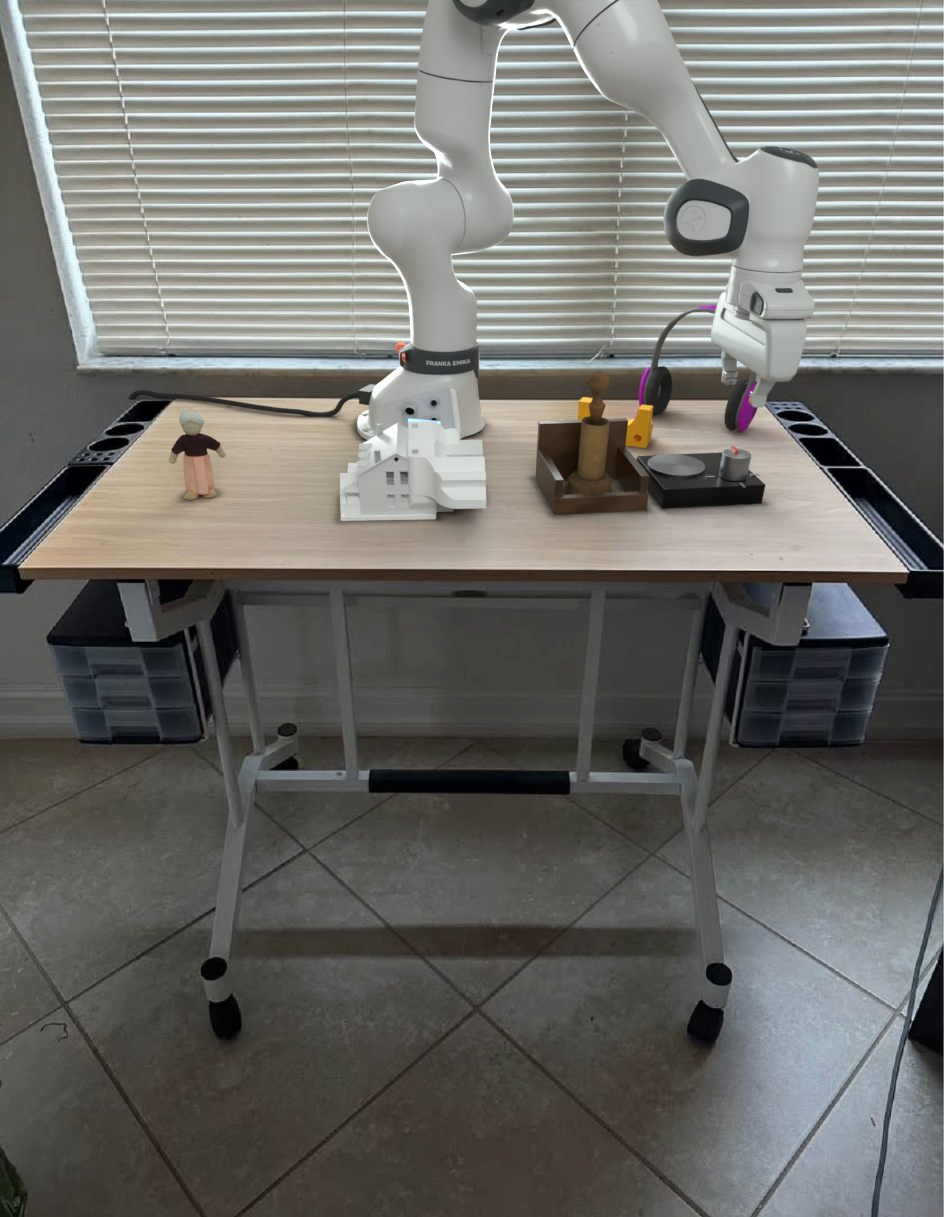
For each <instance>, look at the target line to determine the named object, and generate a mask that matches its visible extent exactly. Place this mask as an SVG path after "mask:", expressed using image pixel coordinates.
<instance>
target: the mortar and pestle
mask: <svg viewBox="0 0 944 1217" xmlns="http://www.w3.org/2000/svg"><path fill="white" fill-rule="evenodd" d="M610 386H611V379H610V375H609V374H608V372H606V371H604V370H595V371H592V372H591V373H590V375H589V376H588V379H587V387H588V388H589V391H590V393H591V395H592V397H591V398H592V401H591V402H590V403H589V411H590V416H589V417H584V418H583V419H582V425H581V438H580V449H579V459H578V469H577V470H576V471H575V472H574V473H572V474H571V475H570V476H569V477H568V480H567V485H566V493H567V495H571V494H592V493H612V490H613V489H612V488H613V478H610V477H609V476H608V475H607V473H605V472H604V470H605V461H606V452H607V443H608V435H609V426H610V421H609V420H608V419H609V418H605V417H604V416H603V414H604V412H605V409H606V403H604V400H603V398H604V395H605V394H606V392H607V390H608V389H609V388H610Z"/></svg>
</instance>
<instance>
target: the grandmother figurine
mask: <svg viewBox="0 0 944 1217" xmlns="http://www.w3.org/2000/svg"><path fill="white" fill-rule="evenodd" d="M178 420H179V421H178V423H179V424H180V426H181V428H182V431H183V432H184V434H182V435H180V436H179V437H178V439H177V440H176V441H175V443H174V444H173V446H172V448H171V449H170V450H171V451H170V453H169V454H170V455H169V456H170V457H169V458H168V462H169V463H170V464H172V465H173V464H176V463H177V459H178V457H179V454H181V453H183V473H184V482H185V488H186V491H187V492H186V493H185V494H184V495H183V499H184V500H189V501H191V500H196V499H198V498H199V495H201V496H202V498H206V499H210V498H214V497H216V496H217V492H216V491H215V490H214V488H215V483H214V472H213V466H212V462H211V457H210V454H209V453H208V450H211V451H215V453H217V455H218V457H219V458H222V459H223V458H225V457H226V456H227V452H226V451H224V449H223V447H222V446H221V444H222V443H221V442H220V441H218V440H217V439H216V438H214V437H212V436H210V435H207V434H206V433H201V432H202V428H203V427H204V425H205V420H204V417H203V416H202V415H201V414H200V413H199V412H197V411H195V410H193V409H186V410H182V412H181V413H180V415H179V417H178Z"/></svg>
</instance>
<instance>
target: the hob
mask: <svg viewBox="0 0 944 1217" xmlns="http://www.w3.org/2000/svg"><path fill="white" fill-rule="evenodd" d="M722 452H723V451H721V452H700V453H699V452H698V453H678V455H685V456H689V457H693V458H696V459H698V460H700V461H701V462H703V463H704V465H705V471H704V472H703V473H702V474H701V475H698V476H694V477H687V478H678V477H670V476H665V475H661V474H658V473H656V472H654V471H652V470H651V469H650V468H649V467H648V460H649V459H650V458H652V457H654V456H657V455H658V454H654V455H652V454H651V455H637V456H636V460H637V461H638V463H639V464H640V465H641V466H642V468H643V469H644V470H645V471H646V473H647V474H648V475H649V483H648V490H647V492H648V494H650V495H651V497H652V498H653V499H654V500H655V501H656V503H657V505H658V506H659V507H660V508H661V510H666V509H685V508H705V507H725V506H726V507H727V506H744V505H762V504H763V499H764V494H765V490H766V483H764V482H763V481H762V480H761V479H760V478H759V477H758V476H761V474H760V473H753V471H751V470H750V469H749V470H748V475H747V479H746V480H743V481H729V480H725V479H723V478H721V477H720V476H719V470H720V464H721V458H722Z"/></svg>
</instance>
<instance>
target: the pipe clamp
mask: <svg viewBox="0 0 944 1217" xmlns="http://www.w3.org/2000/svg"><path fill="white" fill-rule="evenodd" d="M591 401H592V397H588V396H582V397H581V398H580V399H579V401H578V408H577V420H582V419H583V418H584V417H589V416H590V411H589V403H590V402H591ZM652 413H653V406H651V405H643V404H642V405H641V406H640V405H639V407H638V409H637V413H636V416H635V418H630V419H628V428H627V437H626V447H634V448H641V449H647V447H648V446H649V443H650V442H651V440H652V434H653V426H654V420H653V415H652ZM652 420H653V421H652Z"/></svg>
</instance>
